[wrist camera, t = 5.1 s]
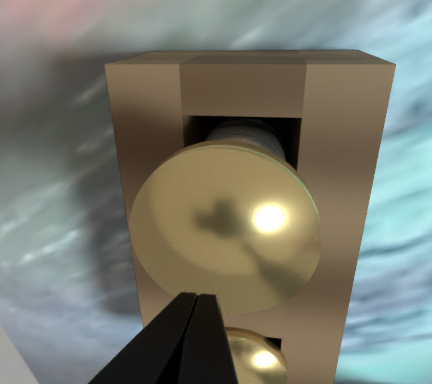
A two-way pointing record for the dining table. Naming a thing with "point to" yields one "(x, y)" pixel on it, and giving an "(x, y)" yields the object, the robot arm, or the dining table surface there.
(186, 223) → the peg
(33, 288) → the dining table surface
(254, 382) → the peg
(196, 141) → the block
